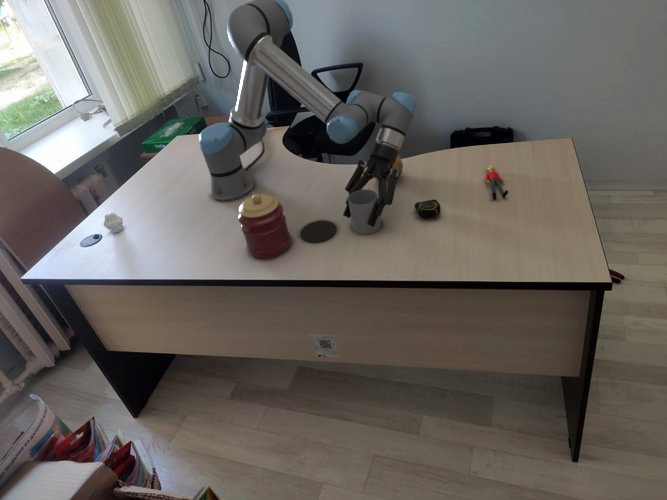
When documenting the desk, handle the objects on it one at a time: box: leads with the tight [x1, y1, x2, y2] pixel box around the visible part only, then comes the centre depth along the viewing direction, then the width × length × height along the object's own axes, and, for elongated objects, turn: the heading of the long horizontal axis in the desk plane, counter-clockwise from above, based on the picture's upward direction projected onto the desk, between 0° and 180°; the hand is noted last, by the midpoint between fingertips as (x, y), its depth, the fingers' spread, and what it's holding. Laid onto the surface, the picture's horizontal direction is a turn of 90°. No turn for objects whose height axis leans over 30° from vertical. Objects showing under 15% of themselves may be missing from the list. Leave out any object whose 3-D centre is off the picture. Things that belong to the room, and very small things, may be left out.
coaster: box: [300, 220, 338, 244], centre depth 143 cm, size 11×11×1 cm
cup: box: [348, 188, 382, 235], centre depth 138 cm, size 8×8×10 cm
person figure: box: [485, 164, 509, 201], centre depth 147 cm, size 5×4×18 cm
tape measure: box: [414, 199, 441, 220], centre depth 140 cm, size 7×7×4 cm
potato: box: [374, 154, 404, 183], centre depth 159 cm, size 10×14×8 cm
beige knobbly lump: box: [103, 211, 124, 234], centre depth 160 cm, size 6×6×7 cm
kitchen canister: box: [237, 193, 292, 259], centre depth 136 cm, size 13×13×18 cm
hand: (358, 220), depth 138 cm, fingers closed on cup, 8 cm apart
